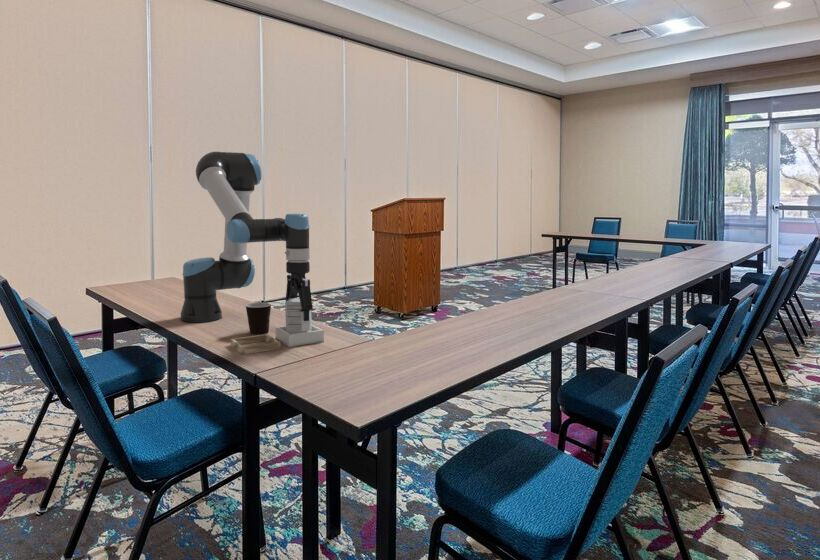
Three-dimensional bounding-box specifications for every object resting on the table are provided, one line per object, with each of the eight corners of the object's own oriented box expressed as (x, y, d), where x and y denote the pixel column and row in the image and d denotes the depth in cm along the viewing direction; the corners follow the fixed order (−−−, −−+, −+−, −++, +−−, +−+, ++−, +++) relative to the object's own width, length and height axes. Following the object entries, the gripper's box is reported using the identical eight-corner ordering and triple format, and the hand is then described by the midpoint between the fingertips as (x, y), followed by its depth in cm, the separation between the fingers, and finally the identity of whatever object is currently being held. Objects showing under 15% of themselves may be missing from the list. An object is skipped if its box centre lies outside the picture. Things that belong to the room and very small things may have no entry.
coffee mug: (265, 336, 185) (264, 308, 184) (242, 334, 187) (241, 306, 185) (279, 328, 197) (278, 301, 195) (257, 326, 198) (257, 300, 197)
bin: (275, 338, 183) (275, 327, 182) (309, 333, 189) (308, 322, 189) (289, 347, 173) (288, 335, 172) (323, 341, 179) (323, 330, 179)
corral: (230, 345, 174) (230, 339, 174) (267, 339, 181) (267, 334, 181) (242, 354, 164) (242, 348, 164) (280, 348, 171) (280, 342, 171)
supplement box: (291, 333, 185) (290, 297, 183) (312, 333, 184) (311, 297, 182) (285, 339, 177) (284, 301, 175) (307, 339, 177) (307, 301, 175)
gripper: (274, 258, 184) (276, 321, 187) (300, 265, 166) (301, 335, 169) (295, 256, 188) (296, 318, 192) (322, 264, 170) (323, 332, 173)
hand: (299, 326), depth 180 cm, fingers closed on supplement box, 10 cm apart
